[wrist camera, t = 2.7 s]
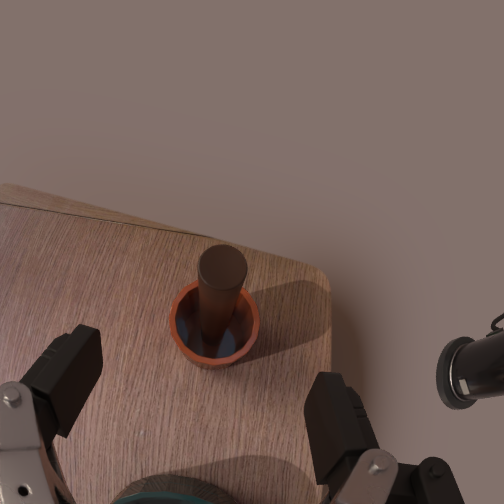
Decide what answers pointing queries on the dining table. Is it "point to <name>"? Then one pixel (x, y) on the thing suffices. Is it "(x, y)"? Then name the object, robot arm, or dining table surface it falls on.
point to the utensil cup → (235, 338)
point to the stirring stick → (219, 289)
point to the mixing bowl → (171, 492)
